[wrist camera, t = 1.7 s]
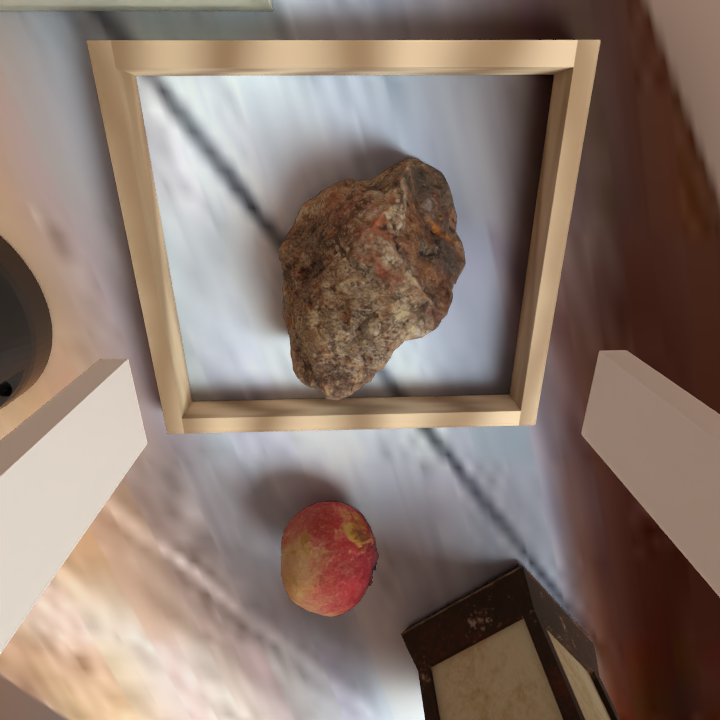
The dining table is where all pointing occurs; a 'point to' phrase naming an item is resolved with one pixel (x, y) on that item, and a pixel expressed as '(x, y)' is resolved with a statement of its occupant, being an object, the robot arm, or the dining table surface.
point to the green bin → (136, 5)
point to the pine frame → (344, 57)
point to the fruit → (328, 558)
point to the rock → (368, 273)
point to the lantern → (507, 657)
